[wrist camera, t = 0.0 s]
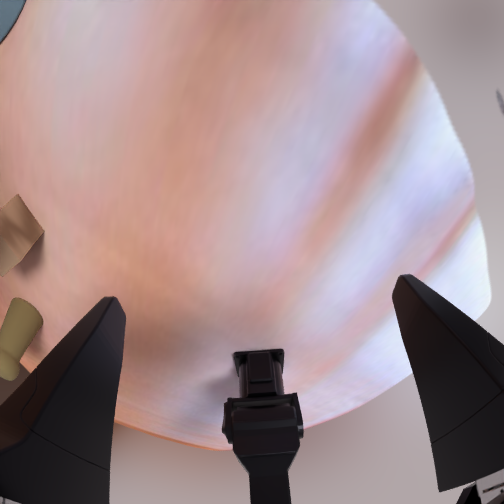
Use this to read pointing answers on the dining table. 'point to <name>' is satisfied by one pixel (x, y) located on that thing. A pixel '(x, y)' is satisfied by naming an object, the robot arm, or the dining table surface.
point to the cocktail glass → (9, 15)
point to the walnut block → (16, 233)
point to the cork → (17, 335)
